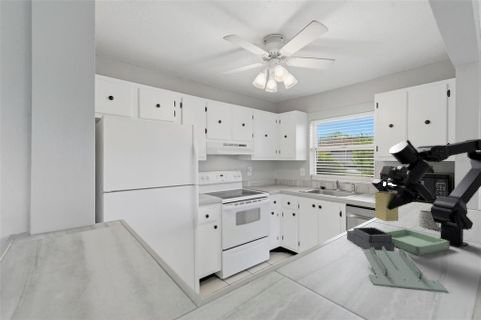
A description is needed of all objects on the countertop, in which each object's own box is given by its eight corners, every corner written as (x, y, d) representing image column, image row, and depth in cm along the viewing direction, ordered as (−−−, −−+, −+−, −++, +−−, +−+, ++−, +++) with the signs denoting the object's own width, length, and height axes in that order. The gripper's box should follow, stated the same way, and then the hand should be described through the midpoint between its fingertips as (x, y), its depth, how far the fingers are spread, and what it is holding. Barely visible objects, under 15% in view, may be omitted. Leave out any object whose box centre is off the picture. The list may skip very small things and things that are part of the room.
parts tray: (404, 234, 82) (405, 228, 82) (449, 248, 70) (449, 241, 70) (376, 239, 77) (376, 232, 77) (418, 255, 64) (418, 247, 64)
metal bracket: (354, 241, 61) (413, 245, 58) (352, 258, 62) (409, 262, 60) (376, 282, 47) (454, 290, 45) (373, 302, 49) (448, 311, 46)
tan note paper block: (387, 217, 74) (387, 191, 74) (398, 220, 70) (398, 193, 70) (375, 217, 74) (375, 191, 74) (385, 221, 69) (385, 193, 69)
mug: (441, 230, 88) (441, 214, 88) (420, 228, 92) (420, 212, 92) (435, 224, 96) (435, 210, 96) (416, 222, 100) (416, 208, 100)
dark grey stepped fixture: (368, 238, 78) (368, 224, 78) (394, 251, 67) (394, 235, 67) (346, 238, 77) (347, 225, 77) (370, 252, 66) (370, 236, 66)
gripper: (375, 157, 81) (349, 187, 80) (423, 157, 63) (390, 195, 61) (394, 177, 82) (368, 207, 81) (446, 183, 64) (414, 221, 62)
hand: (382, 207), depth 71 cm, fingers closed on tan note paper block, 4 cm apart
